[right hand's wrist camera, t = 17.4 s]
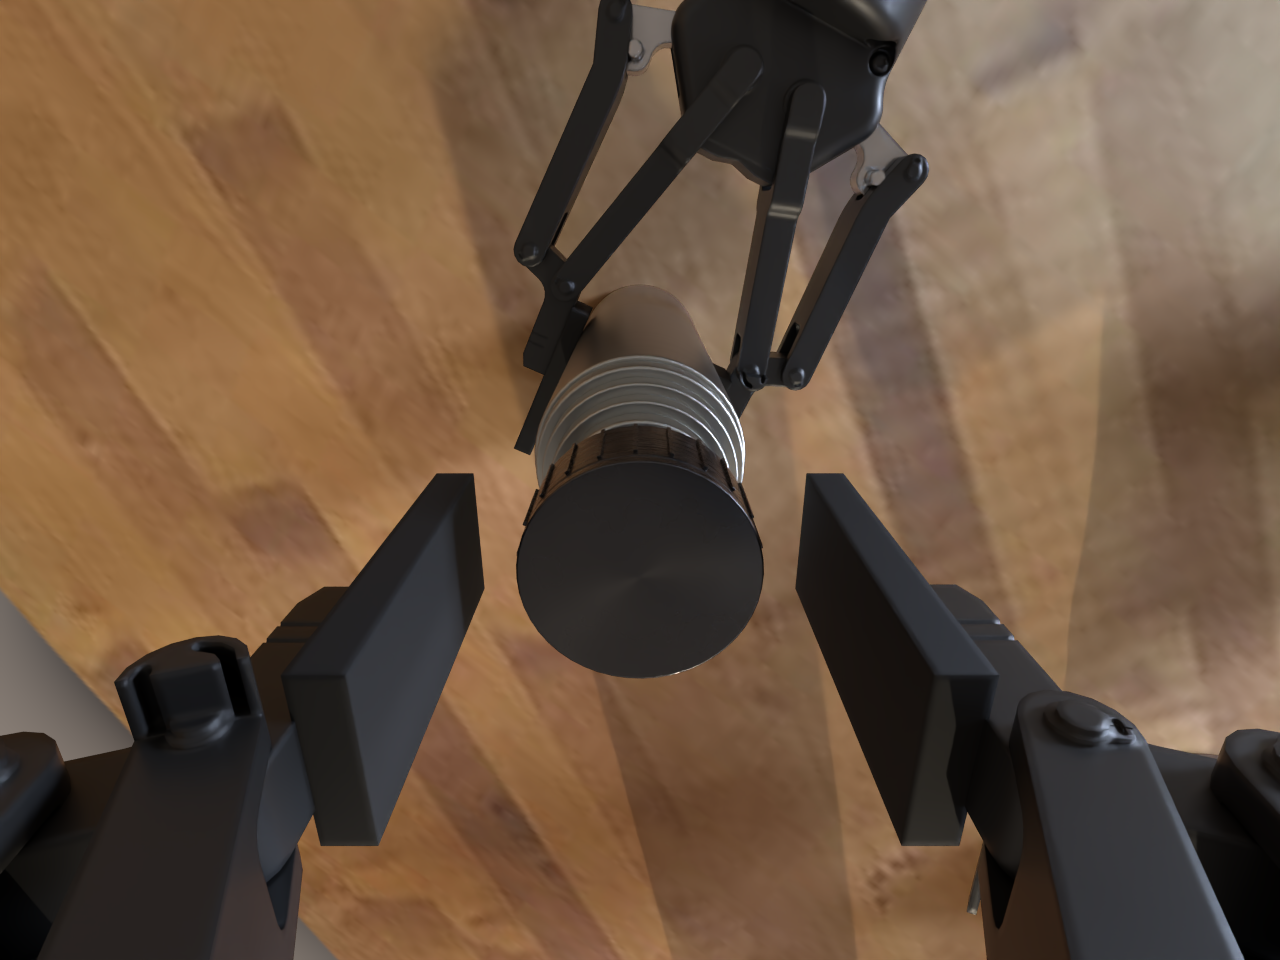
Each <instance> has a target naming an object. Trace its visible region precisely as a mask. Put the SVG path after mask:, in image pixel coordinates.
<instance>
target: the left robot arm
mask: <svg viewBox="0 0 1280 960" xmlns="http://www.w3.org/2000/svg"><path fill="white" fill-rule="evenodd" d="M926 2H927V0H684V1H683V2H682V3H681V4H680V6H679V7H678V8H677V10H676V11H670V10H664V9H658V8H652V7H646V6H639V5H633V4H631V1H630V0H601V1H600V5H599V9H598V19H597V29H596V40H595V50H594V60H593V65H592V67H591V70H590V72H589V74H588V77H587V79H586V81H585V83H584V86H583V88H582V90H581V93H580V95H579V97H578V100H577V102H576V104H575V106H574V109H573V111H572V113H571V116H570V118H569V120H568V123H567V125H566V127H565V129H564V132H563V134H562V136H561V139H560V141H559V143H558V146H557V148H556V150H555V152H554V155H553V157H552V159H551V162H550V164H549V166H548V169H547V171H546V173H545V176H544V178H543V180H542V182H541V185H540V187H539V189H538V192H537V194H536V196H535V199H534V201H533V203H532V205H531V208H530V210H529V212H528V215H527V217H526V219H525V222H524V224H523V226H522V228H521V231H520V233H519V235H518V238H517V240H516V242H515V246H514V255H515V257H516V259H517V261H518V262H519V263H521V264H522V265H523V266H526V267H527V268H528V269H529V270H530V271H531V272H532V273H533V274H534V275H535V276H536V277H537V278H538V279H539V280H540V281H541V282H542V284H543V286H544V290H545V298H544V302H543V305H542V307H541V310H540V312H539V315H538V317H537V320H536V322H535V325H534V327H533V330H532V332H531V335H530V337H529V340H528V342H527V345H526V348H525V350H524V353H523V366H525V367H527V368H529V369H532V370H534V371H536V372H539V373H541V374H543V375H544V376H543V379H542V381H541V384H540V386H539V388H538V391H537V393H536V396H535V398H534V401H533V403H532V405H531V408H530V410H529V413H528V415H527V418H526V420H525V422H524V425H523V427H522V430H521V432H520V435H519V437H518V439H517V442H516V444H515V447H514V449H516V450H519V451H521V452H524V453H526V454H528V455H530V454H531V452H532V450H533V448H534V445H535V443H536V436H537V432H538V428H539V424H540V422H541V419H542V417H543V414H544V412H545V410H546V408H547V406H548V403H549V401H550V399H551V397H552V395H553V393H554V391H555V389H556V387H557V385H558V383H559V380H560V378H561V376H562V374H563V372H564V370H565V368H566V366H567V364H568V362H569V359H570V357H571V355H572V353H573V351H574V349H575V347H576V345H577V343H578V341H579V339H580V336H581V334H582V332H583V330H584V328H585V325H586V323H587V321H588V318H589V316H590V313H591V311H592V309H593V308H592V307H590V306H588V305H586V304H584V303H582V302H579V301H578V298H579V296H580V294H581V291H582V290H583V289H584V288H585V287H586V285H587V284H588V283H589V282H590V280H591V279H592V278H593V277H594V276H595V274H596V273H597V272H598V271H599V270H600V268H601V267H602V266H603V265H604V264H605V262H606V261H607V260H608V259H609V257H610V256H611V255H612V254H613V253H614V251H615V250H616V249H617V248H618V247H619V245H620V244H621V243H622V242H623V241H624V239H625V238H626V237H627V236H628V235H629V233H630V232H631V231H632V230H633V228H634V227H635V226H636V225H637V224H638V222H639V221H640V220H641V219H642V218H643V216H644V215H645V214H646V213H647V212H648V210H649V209H650V208H651V207H652V206H653V204H654V203H655V202H656V201H657V199H658V198H659V197H660V196H661V195H662V193H663V192H664V191H665V190H666V189H667V187H668V186H669V185H670V184H671V183H672V181H673V180H674V179H675V178H676V177H677V175H678V174H679V173H680V172H681V170H682V169H683V168H684V167H685V166H686V165H687V163H688V162H689V161H690V160H691V159H692V157H693V156H694V155H695V154H696V153H699V154H701V155H703V156H704V157H706V158H708V159H710V160H712V161H718V162H723V163H728V164H732V165H733V166H734V167H736V168H737V169H738V170H739V171H740V172H741V173H742V174H743V175H744V176H745V177H746V178H747V179H749V180H751V181H753V182H755V183H757V184H759V185H760V189H759V194H758V200H757V215H756V221H755V226H754V232H753V237H752V243H751V248H750V254H749V259H748V264H747V270H746V275H745V281H744V286H743V292H742V297H741V303H740V308H739V313H738V319H737V324H736V330H735V335H734V341H733V346H732V352H731V357H730V364H729V366H728V368H727V370H725V369H724V368H722V367H720V366H718V365H716V364H713V365H714V368H715V370H716V372H717V374H718V376H719V378H720V380H721V382H722V384H723V387H724V389H725V391H726V393H727V395H728V397H729V399H730V401H731V403H732V405H733V408H734V410H735V412H736V414H737V416H738V419H739V418H740V417H741V415H742V413H743V411H744V409H745V407H746V405H747V403H748V401H749V400H750V398H751V396H752V395H753V393H754V392H755V391H758V390H760V389H762V388H763V387H764V386H778V387H787V388H789V389H790V390H800V389H802V388H804V387H805V386H806V385H807V384H808V383H809V381H810V379H811V377H812V375H813V373H814V371H815V369H816V367H817V365H818V363H819V361H820V359H821V357H822V355H823V353H824V351H825V349H826V347H827V345H828V343H829V341H830V339H831V337H832V335H833V333H834V331H835V328H836V326H837V324H838V322H839V320H840V318H841V316H842V314H843V312H844V310H845V308H846V306H847V304H848V302H849V300H850V298H851V296H852V294H853V292H854V290H855V288H856V286H857V284H858V282H859V280H860V278H861V276H862V274H863V271H864V269H865V267H866V265H867V263H868V261H869V259H870V257H871V255H872V253H873V251H874V249H875V247H876V245H877V243H878V241H879V239H880V237H881V235H882V233H883V231H884V229H885V227H886V225H887V223H888V221H889V219H890V217H891V216H892V215H893V214H894V213H895V212H896V211H897V210H898V209H899V208H900V207H901V206H902V205H903V204H904V203H905V202H906V201H907V199H908V198H909V197H910V196H911V195H912V194H913V193H914V192H915V191H916V190H917V189H918V188H919V187H920V186H921V185H922V184H923V183H924V181H925V180H926V178H927V176H928V172H929V165H928V162H927V160H926V158H924V157H923V156H922V155H920V154H910V155H908V154H906V153H905V151H904V150H903V149H902V148H901V147H900V146H899V145H898V144H897V142H896V141H895V140H894V139H893V138H892V137H891V136H890V135H889V134H888V132H887V131H886V130H885V129H884V128H883V127H882V126H881V125H880V124H879V122H880V120H881V116H882V111H883V94H884V89H885V84H886V81H887V78H888V76H889V74H890V71H891V69H892V68H893V66H894V64H895V62H896V60H897V58H898V56H899V54H900V52H901V50H902V48H903V46H904V44H905V42H906V40H907V39H908V37H909V35H910V33H911V31H912V29H913V27H914V25H915V23H916V21H917V19H918V17H919V15H920V13H921V11H922V9H923V7H924V6H925V4H926ZM664 48H670V49H671V54H672V60H673V66H674V73H675V79H676V85H677V92H678V98H679V104H680V111H681V118H680V119H679V120H678V122H677V123H676V124H675V125H674V127H673V128H672V129H671V130H670V132H669V133H668V134H667V135H666V137H665V138H664V139H663V140H662V142H661V143H660V145H659V146H658V147H657V148H656V150H655V151H654V152H653V153H652V155H651V156H650V157H649V158H648V160H647V161H646V162H645V163H644V165H643V166H642V167H641V168H640V170H639V171H638V172H637V173H636V175H635V176H634V177H633V178H632V179H631V181H630V182H629V183H628V184H627V186H626V187H625V188H624V189H623V191H622V192H621V193H620V194H619V196H618V197H617V198H616V199H615V201H614V202H613V203H612V204H611V206H610V207H609V208H608V209H607V210H606V212H605V213H604V214H603V215H602V217H601V218H600V219H599V220H598V222H597V223H596V224H595V225H594V227H593V228H592V229H591V230H590V232H589V233H588V234H587V235H586V237H585V238H584V239H583V240H582V242H581V243H580V244H579V245H578V246H577V248H576V249H575V250H574V251H573V253H572V254H571V255H570V256H569V258H568V259H566V258H565V257H564V256H563V255H562V254H561V253H560V252H559V251H558V250H557V249H556V248H555V247H554V246H555V244H556V242H557V240H558V237H559V235H560V233H561V231H562V229H563V226H564V224H565V222H566V220H567V218H568V215H569V213H570V211H571V209H572V207H573V204H574V202H575V200H576V198H577V196H578V193H579V191H580V189H581V187H582V185H583V183H584V180H585V178H586V176H587V174H588V172H589V169H590V167H591V165H592V163H593V161H594V158H595V156H596V154H597V152H598V150H599V147H600V145H601V143H602V141H603V139H604V136H605V134H606V132H607V130H608V128H609V125H610V123H611V121H612V119H613V117H614V114H615V112H616V110H617V108H618V106H619V103H620V101H621V98H622V96H623V93H624V89H625V86H626V82H627V78H628V75H631V76H638V75H641V74H643V73H644V72H645V71H646V70H647V69H648V67H649V65H650V62H651V60H652V57H653V56H654V54H655V53H656V52H658V51H659V50H661V49H664ZM852 148H854V149H855V151H856V153H857V164H856V167H855V169H854V171H853V172H852V174H851V178H850V185H851V188H852V190H853V191H854V193H855V194H854V195H853V196H852V197H851V199H850V200H849V202H848V203H847V205H846V206H845V208H844V210H843V211H842V213H841V215H840V217H839V219H838V221H837V223H836V225H835V228H834V230H833V232H832V234H831V236H830V238H829V241H828V243H827V245H826V247H825V249H824V251H823V253H822V256H821V258H820V260H819V262H818V264H817V266H816V268H815V271H814V273H813V275H812V277H811V279H810V281H809V283H808V286H807V288H806V290H805V292H804V294H803V296H802V299H801V301H800V303H799V305H798V307H797V309H796V311H795V314H794V316H793V318H792V320H791V322H790V324H789V326H788V329H787V331H786V333H785V335H784V337H783V339H782V341H781V344H780V346H779V348H778V350H777V352H770V350H771V345H772V341H773V336H774V331H775V326H776V321H777V316H778V311H779V306H780V301H781V297H782V292H783V287H784V282H785V277H786V272H787V267H788V262H789V257H790V252H791V248H792V243H793V238H794V233H795V228H796V223H797V219H798V216H799V214H800V213H801V210H802V207H803V203H804V198H805V193H806V189H807V184H808V179H809V174H810V173H811V172H813V171H814V170H816V169H818V168H819V167H821V166H823V165H824V164H826V163H828V162H830V161H831V160H833V159H835V158H836V157H838V156H840V155H841V154H843V153H845V152H847V151H848V150H850V149H852Z"/></svg>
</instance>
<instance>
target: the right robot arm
mask: <svg viewBox="0 0 1280 960" xmlns="http://www.w3.org/2000/svg"><path fill="white" fill-rule="evenodd" d="M483 591H484V578H483V568H482V557H481V547H480V537H479V526H478V516H477V506H476V495H475V485H474V475H473V473H437V474H436V475H435V476H434V478H433V479H432V480H431V482H430V483H429V484H428V485H427V487H426V488H425V489H424V491H423V492H422V493H421V494H420V496H419V497H418V498H417V500H416V501H415V502H414V503H413V505H412V506H411V507H410V509H409V510H408V511H407V512H406V514H405V515H404V516H403V518H402V519H401V520H400V522H399V523H398V524H397V525H396V527H395V528H394V529H393V531H392V532H391V533H390V534H389V536H388V537H387V538H386V540H385V541H384V542H383V543H382V545H381V546H380V547H379V549H378V550H377V551H376V552H375V554H374V555H373V556H372V558H371V559H370V560H369V562H368V563H367V564H366V565H365V567H364V568H363V569H362V571H361V572H360V573H359V574H358V576H357V577H356V578H355V580H354V581H353V582H352V583H351V585H350V586H349V587H323V588H322V589H320V590H318V591H317V592H315V593H313V594H312V595H310V596H309V597H307V598H305V599H304V600H302V601H300V602H299V603H297V605H296V606H295V607H294V608H293V609H292V610H291V611H290V613H289V614H288V615H287V616H286V617H285V618H284V619H283V621H282V622H281V626H277V627H276V629H275V630H274V631H273V632H272V633H271V634H270V635H269V637H268V638H267V642H266V643H262V645H261V646H260V647H259V648H258V649H257V650H256V651H255V653H254V654H253V655H252V656H251V657H250V656H249V652H248V648H247V645H245V644H244V643H242V642H241V641H240V640H238V639H237V638H232V637H226V636H219V635H218V636H206V637H195V638H192V639H188V640H184V641H180V642H176V643H172V644H170V645H167V646H165V647H163V648H160V649H158V650H156V651H153V652H151V653H149V654H147V655H145V656H144V657H142V658H140V659H139V660H137V661H136V662H134V663H133V664H131V665H130V666H128V667H127V668H126V669H125V670H124V671H123V672H122V674H121V675H120V676H119V677H118V678H117V679H116V680H115V682H114V683H115V686H116V689H117V692H118V695H119V698H120V701H121V703H122V706H123V709H124V712H125V715H126V718H127V721H128V724H129V726H130V729H131V732H132V735H133V738H134V743H133V745H132V747H129V748H126V749H121V750H116V751H112V752H107V753H102V754H98V755H93V756H88V757H84V758H79V759H74V760H70V761H65V762H64V761H63V758H62V756H61V753H60V751H59V748H58V746H57V744H56V741H55V740H54V739H52V738H51V737H49V736H48V735H46V734H44V733H35V732H19V733H14V734H8V735H2V736H0V960H293V957H294V948H295V938H296V929H297V919H298V910H299V900H300V891H301V881H302V872H303V869H302V863H301V857H300V853H299V849H298V845H297V843H298V841H299V839H300V837H301V836H302V834H303V832H304V830H305V828H306V826H307V824H308V823H309V821H310V819H311V817H312V815H314V819H315V824H316V828H317V832H318V836H319V841H320V845H321V846H378V845H379V843H380V841H381V838H382V836H383V833H384V831H385V828H386V826H387V824H388V821H389V819H390V816H391V814H392V811H393V809H394V807H395V804H396V802H397V799H398V797H399V794H400V792H401V790H402V787H403V785H404V782H405V780H406V778H407V775H408V773H409V770H410V768H411V765H412V763H413V761H414V758H415V756H416V753H417V751H418V748H419V746H420V744H421V741H422V739H423V736H424V734H425V731H426V729H427V727H428V724H429V722H430V719H431V717H432V714H433V712H434V710H435V707H436V705H437V702H438V700H439V697H440V695H441V693H442V690H443V688H444V685H445V683H446V681H447V678H448V676H449V673H450V671H451V668H452V666H453V664H454V661H455V659H456V656H457V654H458V651H459V649H460V647H461V644H462V642H463V639H464V637H465V634H466V632H467V630H468V627H469V625H470V622H471V620H472V617H473V615H474V613H475V610H476V608H477V605H478V603H479V600H480V598H481V596H482V593H483ZM796 591H797V593H798V596H799V598H800V600H801V603H802V605H803V608H804V610H805V613H806V615H807V617H808V620H809V622H810V625H811V627H812V630H813V632H814V634H815V637H816V639H817V642H818V644H819V647H820V649H821V651H822V654H823V656H824V659H825V661H826V664H827V666H828V668H829V671H830V673H831V676H832V678H833V681H834V683H835V685H836V688H837V690H838V693H839V695H840V697H841V700H842V702H843V705H844V707H845V710H846V712H847V714H848V717H849V719H850V722H851V724H852V727H853V729H854V731H855V734H856V736H857V739H858V741H859V744H860V746H861V748H862V751H863V753H864V756H865V758H866V761H867V763H868V765H869V768H870V770H871V773H872V775H873V778H874V780H875V782H876V785H877V787H878V790H879V792H880V794H881V797H882V799H883V802H884V804H885V807H886V809H887V811H888V814H889V816H890V819H891V821H892V824H893V826H894V828H895V831H896V833H897V836H898V838H899V841H900V843H901V845H902V846H959V845H960V841H961V836H962V832H963V828H964V824H965V819H966V815H967V812H968V814H969V815H970V817H971V819H972V821H973V823H974V825H975V826H976V828H977V830H978V832H979V834H980V836H981V837H982V839H983V845H982V849H981V853H980V857H979V861H978V865H977V869H976V872H975V876H974V880H973V884H972V888H971V892H970V896H969V901H968V907H967V912H968V913H972V914H975V915H976V914H977V910H978V906H979V902H980V900H981V908H982V917H983V927H984V936H985V946H986V955H987V960H1280V733H1279V732H1273V731H1268V730H1262V729H1246V730H1237V731H1235V732H1234V733H1232V734H1230V735H1229V736H1227V737H1226V739H1225V741H1224V744H1223V746H1222V748H1221V751H1220V753H1219V755H1211V754H1192V753H1187V752H1182V751H1178V750H1173V749H1168V748H1164V747H1159V746H1155V745H1151V744H1148V743H1147V742H1146V740H1145V739H1144V737H1143V736H1142V734H1141V733H1140V732H1139V730H1138V729H1137V728H1136V726H1135V725H1134V724H1133V723H1131V722H1130V721H1129V720H1128V719H1126V718H1125V717H1124V716H1122V715H1121V714H1120V713H1118V712H1117V711H1116V710H1114V709H1112V708H1110V707H1108V706H1106V705H1104V704H1102V703H1100V702H1098V701H1096V700H1094V699H1091V698H1088V697H1085V696H1081V695H1078V694H1075V693H1071V692H1067V691H1062V690H1061V689H1060V688H1059V687H1058V686H1057V685H1056V684H1055V682H1054V681H1053V680H1052V679H1051V678H1050V677H1049V676H1048V674H1047V673H1046V672H1045V671H1044V670H1043V669H1042V668H1041V667H1040V665H1039V664H1038V663H1037V662H1036V661H1035V660H1034V659H1033V657H1032V656H1031V655H1030V654H1029V653H1028V652H1027V651H1026V649H1025V648H1024V647H1023V646H1022V645H1021V644H1020V643H1019V642H1018V640H1014V636H1013V635H1012V634H1011V632H1010V631H1009V630H1008V629H1007V628H1006V627H1005V626H1004V624H1000V620H999V619H998V618H997V617H996V615H995V614H994V613H993V612H992V611H991V610H990V609H989V607H988V606H987V605H986V604H985V603H984V602H983V601H982V600H980V599H979V598H977V597H975V596H974V595H972V594H971V593H969V592H967V591H966V590H964V589H962V588H961V587H959V586H958V585H929V583H928V582H927V581H926V580H925V578H924V577H923V576H922V574H921V573H920V572H919V571H918V569H917V568H916V567H915V565H914V564H913V563H912V562H911V560H910V559H909V558H908V556H907V555H906V554H905V552H904V551H903V550H902V549H901V547H900V546H899V545H898V543H897V542H896V541H895V540H894V538H893V537H892V536H891V534H890V533H889V532H888V531H887V529H886V528H885V527H884V525H883V524H882V523H881V522H880V520H879V519H878V518H877V516H876V515H875V514H874V512H873V511H872V510H871V509H870V507H869V506H868V505H867V503H866V502H865V501H864V500H863V498H862V497H861V496H860V494H859V493H858V492H857V491H856V489H855V488H854V487H853V485H852V484H851V483H850V482H849V480H848V479H847V478H846V476H845V475H844V474H843V473H807V475H806V485H805V495H804V506H803V516H802V526H801V537H800V547H799V557H798V568H797V578H796Z"/></svg>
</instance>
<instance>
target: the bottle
mask: <svg viewBox="0 0 1280 960" xmlns="http://www.w3.org/2000/svg"><path fill="white" fill-rule="evenodd" d="M634 424H638V426H654V427H660V428H667V427H671V430H673V431H677V432H680V433H682V434H685V435H687V436H689V437H691V438H694V439H695V440H697V439H700V440H701V442H702V444H704V445H705V446H707V447H708V448H709V449H710V450H712V451H713V452H714V453H715V454H717V455H718V456H719V457H720V459H722V458H724V459H725V460H726V463H727V466H728V468H729V469H730V471H731V472H732V473H733V475H734V476H735V478H736V480H737V482H738V483H740V482H741V484H742V480H743V474H744V466H745V441H744V436H743V431H742V427H741V424H740V422H739V419H738V416H737V414H736V412H735V410H734V408H733V405H732V403H731V401H730V399H729V397H728V395H727V393H726V391H725V389H724V387H723V384H722V382H721V380H720V378H719V376H718V374H717V372H716V370H715V368H714V365H713V363H712V361H711V359H710V357H709V355H708V353H707V351H706V349H705V347H704V344H703V342H702V340H701V338H700V336H699V334H698V332H697V330H696V328H695V325H694V323H693V321H692V319H691V317H690V315H689V313H688V311H687V310H686V309H685V307H684V306H683V305H682V303H681V302H680V301H679V300H678V299H677V298H675V297H674V296H673V295H671V294H670V293H668V292H667V291H665V290H662V289H660V288H657V287H654V286H649V285H631V286H627V287H623V288H620V289H618V290H616V291H614V292H612V293H610V294H609V295H607V296H606V297H605V298H604V299H603V300H602V301H601V302H600V303H599V304H598V305H597V306H596V307H595V309H594V310H593V312H592V314H591V315H590V317H589V320H588V322H587V324H586V326H585V328H584V330H583V332H582V334H581V336H580V339H579V341H578V343H577V345H576V347H575V349H574V351H573V353H572V355H571V357H570V359H569V362H568V364H567V366H566V368H565V370H564V372H563V374H562V376H561V378H560V380H559V383H558V385H557V387H556V389H555V391H554V393H553V395H552V397H551V399H550V401H549V403H548V406H547V408H546V410H545V412H544V414H543V417H542V419H541V422H540V424H539V428H538V432H537V436H536V443H535V465H536V474H537V479H538V485H539V488H540V487H541V484H542V482H543V480H544V478H545V477H546V475H547V472H548V469H549V466H550V465H551V463H552V464H555V463H556V462H557V461H558V459H559V458H560V457H562V456H563V455H564V454H565V453H566V452H567V451H568V450H569V449H571V447H572V444H574V443H576V444H578V443H580V442H581V441H583V440H585V439H587V438H589V437H591V436H593V435H595V434H598V433H601V430H602V429H605V430H610V429H615V428H619V427H626V426H634Z"/></svg>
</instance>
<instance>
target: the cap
mask: <svg viewBox="0 0 1280 960" xmlns="http://www.w3.org/2000/svg"><path fill="white" fill-rule="evenodd" d="M753 518H754V515H753V513H752V510H751V507H750V505H749V502H748V499H747V496H746V494H745V491H744V488H743V486H742V484H741V482H740V483H738V482H737V480H736V478H735V476H734V475H733V473H732V472H731V471H730V469H729V468H728V466H727V463H726V460H725V459H724V458H722V459H720V457H719V456H718V455H717V454H715V453H714V452H713V451H712V450H710V449H709V448H708V447H707V446H705V445H704V444H702V442H701V440H700V439H697V440H695V439H694V438H691V437H689V436H687V435H685V434H682V433H680V432H677V431H673V430H671V427H667V428H660V427H654V426H638V424H634V426H626V427H619V428H615V429H610V430H605V429H602V430H601V433H598V434H595V435H593V436H591V437H589V438H587V439H585V440H583V441H581V442H580V443H578V444H576V443H574V444H572V447H571V449H569V450H568V451H567V452H566V453H565V454H564V455H563V456H562V457H560V458H559V459H558V461H557V462H556V463H555V464H552V463H551V465H550V466H549V469H548V472H547V475H546V477H545V478H544V480H543V482H542V484H541V487H540V489H539V490H538V489H536V491H535V493H534V496H533V499H532V501H531V504H530V507H529V509H528V512H527V515H526V517H525V520H524V523H523V525H524V526H525V529H524V532H523V535H522V538H521V541H520V545H519V548H518V551H517V563H516V574H517V584H518V589H519V594H520V597H521V600H522V603H523V606H524V608H525V610H526V612H527V614H528V616H529V618H530V620H531V622H532V623H533V624H534V626H535V627H536V629H537V630H538V632H539V633H540V634H541V635H542V636H543V637H544V638H545V640H546V641H547V642H548V643H549V644H550V645H552V646H553V647H554V648H555V649H556V650H557V651H559V652H560V653H561V654H563V655H564V656H566V657H567V658H569V659H570V660H572V661H574V662H576V663H578V664H580V665H582V666H584V667H586V668H589V669H591V670H594V671H597V672H600V673H604V674H608V675H611V676H617V677H624V678H656V677H663V676H668V675H673V674H677V673H680V672H683V671H687V670H689V669H691V668H694V667H696V666H698V665H701V664H702V663H704V662H706V661H708V660H709V659H711V658H713V657H714V656H716V655H717V654H719V653H720V652H721V651H723V650H724V649H725V648H726V647H727V646H728V645H730V644H731V643H732V642H733V641H734V640H735V639H736V638H737V636H738V635H739V634H740V633H741V632H742V630H743V629H744V628H745V626H746V625H747V623H748V621H749V620H750V618H751V617H752V615H753V613H754V610H755V608H756V606H757V603H758V601H759V597H760V594H761V590H762V584H763V576H764V562H763V554H762V549H761V548H763V545H762V542H761V539H760V537H759V534H758V531H757V529H756V526H755V523H754V520H753Z"/></svg>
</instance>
